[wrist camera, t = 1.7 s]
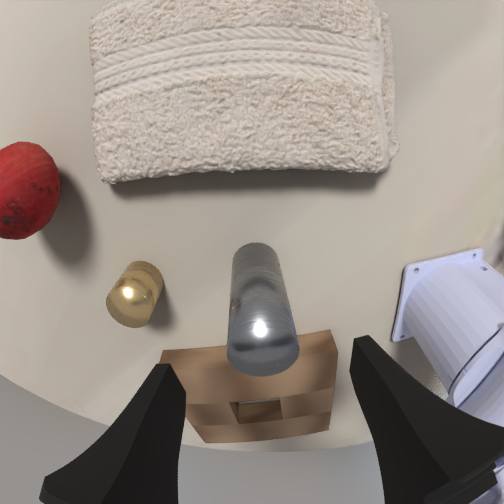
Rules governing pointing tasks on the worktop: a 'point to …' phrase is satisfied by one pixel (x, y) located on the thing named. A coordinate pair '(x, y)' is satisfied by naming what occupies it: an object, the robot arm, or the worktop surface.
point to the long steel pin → (260, 314)
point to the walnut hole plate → (257, 393)
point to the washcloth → (241, 87)
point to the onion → (26, 189)
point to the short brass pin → (135, 294)
